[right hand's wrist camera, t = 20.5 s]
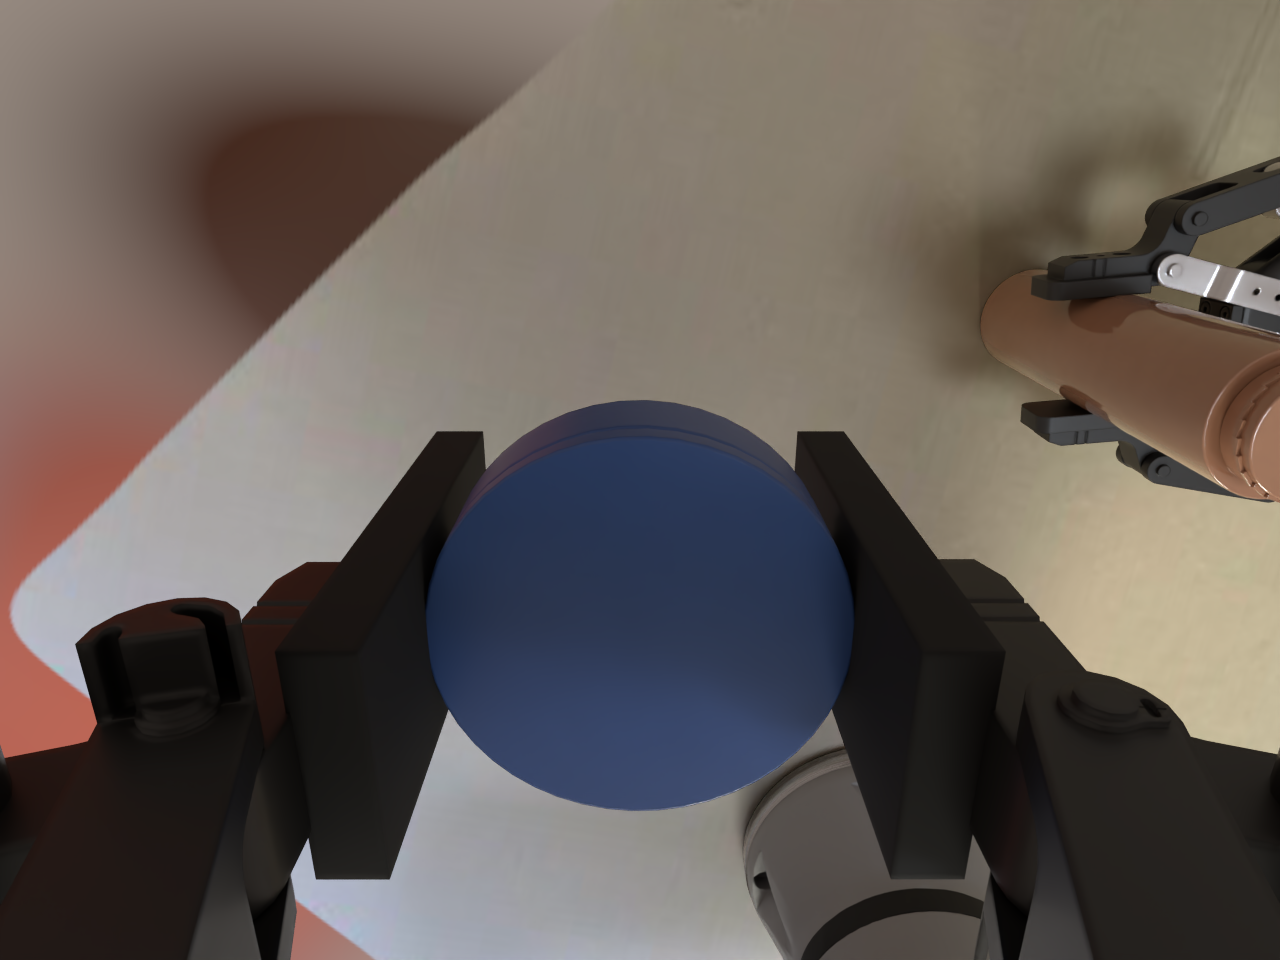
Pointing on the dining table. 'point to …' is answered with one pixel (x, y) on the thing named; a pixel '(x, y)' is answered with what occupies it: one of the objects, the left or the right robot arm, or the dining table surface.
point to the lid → (640, 608)
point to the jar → (1153, 375)
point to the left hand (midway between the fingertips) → (1035, 355)
